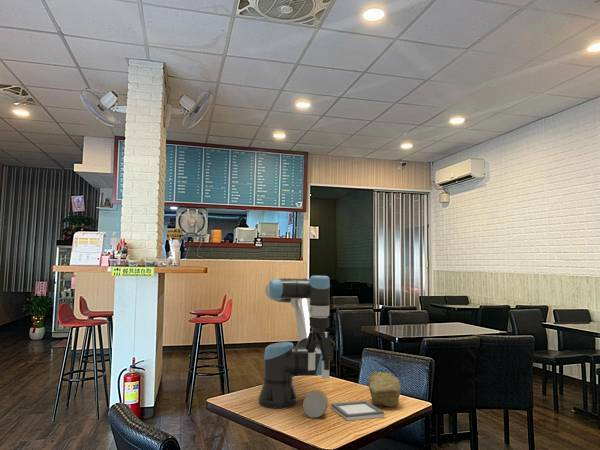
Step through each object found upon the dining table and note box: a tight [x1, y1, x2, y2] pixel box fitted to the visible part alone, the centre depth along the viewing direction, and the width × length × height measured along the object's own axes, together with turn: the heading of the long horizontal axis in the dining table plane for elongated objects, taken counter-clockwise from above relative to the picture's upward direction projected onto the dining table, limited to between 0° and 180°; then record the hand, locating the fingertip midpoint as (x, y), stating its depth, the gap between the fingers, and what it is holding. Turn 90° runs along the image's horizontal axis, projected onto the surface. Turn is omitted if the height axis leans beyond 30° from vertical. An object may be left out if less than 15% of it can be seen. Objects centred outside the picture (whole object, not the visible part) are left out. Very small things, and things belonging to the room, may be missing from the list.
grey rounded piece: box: [302, 389, 329, 419], centre depth 164 cm, size 10×10×10 cm
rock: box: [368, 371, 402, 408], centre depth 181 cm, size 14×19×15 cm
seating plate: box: [330, 400, 385, 422], centre depth 168 cm, size 15×15×2 cm
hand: (318, 374), depth 166 cm, fingers open, 13 cm apart
